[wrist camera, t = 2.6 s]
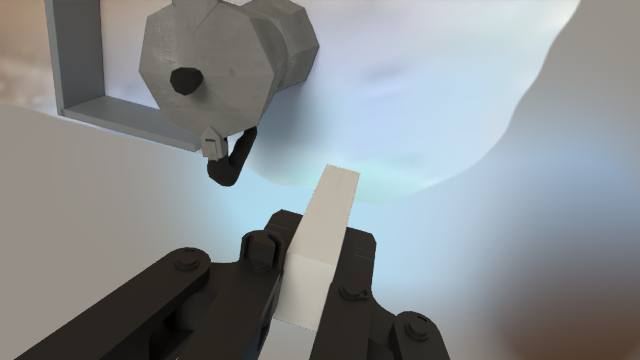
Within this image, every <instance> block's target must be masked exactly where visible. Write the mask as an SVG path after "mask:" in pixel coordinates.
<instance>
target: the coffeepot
mask: <svg viewBox="0 0 640 360" xmlns="http://www.w3.org/2000/svg"><path fill="white" fill-rule="evenodd" d="M318 47H319V44H318V41H317V38H316V36H315V33H314V30H313V27H312V25H311V23H310V21H309V18H308V16H307V13H306V11H305V8H304V7H302V6H299V5H297V4H295V3H293V2H291V1H289V0H252V1H250V2H248V3H246V4H244V5H242V6H238V5H235V4H232V3H229V2H225V1H223V0H172V4H170V5H168V6H167V7H165V8H163V9H161V10H159V11H158V12H156V13H154V14H152V15H150V16H148V17H147V21H146V28H145V34H144V40H143V47H142V53H141V59H140V66H139V73H140V75H141V76H142V78H143V80H144V82H145V83H146V85H147V87H148V89H149V90H150V92H151V94H152V96H153V97H154V99H155V101H156V103H157V105H158V106H159V108H160V110H161V112H162V113H163V115H164V117H165V119H166V120H167V121H169V122H171V123H173V124H175V125H178V126H180V127H182V128H184V129H186V130H189V131H191V132H193V133H195V134H197V135H200V136H201V137H200V138H201V144H202V151H203V157H208V164H207V171H208V174H209V177H210V178H212V179H213V180H214V181H216V182H217V183H218V184H220V185H222V186H232V185H234V184H235V182H236V181H237V179H238V177H239V175H240V172H241V170H242V167H243V165H244V162H245V160H246V158H247V156H248V154H249V152H250V150H251V147H252V145H253V142H254V140H255V138H256V136H257V127H256V126H257V125H258V124H259V121H260V120H261V118H262V116H263V114H264V112H265V111H266V109H267V107H268V105H269V103H270V102H271V100H272V98H273V96H274V94H275V93H276V92H277V91H280V90H282V89H285V88H287V87H290V86H292V85H295V84H297V83H299V82H302V81H304V80H306V79H307V76H308V74H309V71H310V69H311V66H312V64H313V61H314V58H315V55H316V52H317V50H318ZM243 130H244V134H243V135H242V136H241V137H240V138H239V139H238V140H237V142H236V144H235V146H234V149H233V152H232V153H231V154H230V156H229V157H228V141H227V137H228V136H230V135H233V134H236V133H238V132H241V131H243Z"/></svg>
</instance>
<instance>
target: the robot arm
mask: <svg viewBox="0 0 640 360" xmlns="http://www.w3.org/2000/svg"><path fill="white" fill-rule="evenodd" d="M359 176H360V173H358V172H354V171H350V170H347V169H343V168H339V167H336V166H332V165H328V164H327V165H326V167H325V170H324V172H323V174H322V176H321V178H320V180H319V183H318V185H317V187H316V189H315V191H314V194H313V196H312V198H311V200H310V202H309V205H308V207H307V209H306V211H305V213H304V215H301V214H297V213H293V212H290V211H286V210H282V209H281V210H280V211H278V212H276V213H274V214H273V215H272V217H271V218H270V220H269V222H268V224H267V225H266V226H265V228H264V230H256V231H252V232H249V233H246V234H245V235H244V236H243V237H242V243H241V250H240V258H239V260H238V261H237V262H232V263H214V262H213V263H212V262H211V259H210V258H209V255H208V254H207V253H205V252H204V251H202V250H200V249H197V248H189V247H185V248H180V249H176V250H174V251H172V252H170V253H168V254H167V255H166V256H164V257H163V258H161V259H160V260H158V261H157V262H156V263H154V264H152V265H151V266H149V267H148V268H147V269H145V270H144V271H142V272H141V273H139V274H138V275H136V276H135V277H133V278H132V279H131V280H129V281H128V282H126V283H125V284H123V285H122V286H120V287H119V288H117V289H116V290H114V291H113V292H112V293H110V294H109V295H107V296H106V297H104V298H103V299H101V300H100V301H99V302H97V303H96V304H94V305H93V306H91V307H90V308H88V309H87V310H85V311H84V312H82V313H81V314H80V315H78V316H77V317H75V318H74V319H72V320H71V321H69V322H68V323H67V324H65V325H64V326H62V327H61V328H59V329H58V330H56V331H55V332H53V333H52V334H50V335H49V336H48V337H46V338H45V339H43V340H42V341H40V342H39V343H37V344H36V345H35V346H33V347H32V348H30V349H29V350H27V351H26V352H24V353H23V354H21V355H20V356H18V357H17V358H16V359H14V360H176V359H177V358H178V359H177V360H258V357H259V355H260V352H261V349H262V347H263V345H264V342H265V340H266V337H267V335H268V332H269V328H270V322H271V319H272V316H273V314H274V317H273V318H274V319H277V320H280V321H284V322H287V323H290V324H293V325H297V326H300V327H303V328H306V329H309V330H313V331H316V332H317V334H316V337H315V341H314V344H313V348H312V352H311V355H310V359H309V360H450V358H449V355H448V352H447V350H446V347H445V344H444V342H443V339H442V336H441V334H440V332H439V330H438V328H437V326H436V325H435V324H434V323H433V322H432V321H431V320H430V319H429V318H427V317H425V316H424V315H422V314H420V313H416V312H413V311H405V312H402V313H400V314H398V315H397V316H395V315H394V314H392V313H390V312H389V311H387V310H385V309H384V308H382V307H381V306H380V305H379V304H378V303H377V302H376V300H375V299H374V297H373V295H372V291H371V285H372V277H373V268H374V260H375V251H376V241H375V239H374V237H373V235H372V234H371V233H367V232H364V231H361V230H357V229H354V228H349V227H347V223H348V219H349V215H350V211H351V207H352V203H353V199H354V195H355V191H356V188H357V184H358V180H359Z"/></svg>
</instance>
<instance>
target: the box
mask: <svg viewBox="0 0 640 360" xmlns="http://www.w3.org/2000/svg"><path fill="white" fill-rule="evenodd" d="M44 1H45V10H46V18H47V27H48V36H49V44H50V53H51V61H52V70H53V78H54V87H55V96H56V104H57V113H58V115H60V116H64V117H68V118H71V119H75V120H79V121H82V122H86V123H89V124H93V125H97V126H100V127H104V128H108V129H111V130H115V131H119V132H122V133H126V134H130V135H133V136H137V137H141V138H144V139H148V140H152V141H155V142H159V143H163V144H166V145H170V146H174V147H177V148H181V149H185V150H188V151H192V152H196V151H197V150H198V149H200V148H201V147H202V144H201V138H200V137H201V136H200V135H197V134H195V133H193V132H191V131H189V130H186V129H184V128H182V127H180V126H178V125H175V124H173V123H171V122H169V121H167V120H166V119H165V117H164V115H163V113H162V112H161V110H159V109H155V108H151V107H147V106H144V105H140V104H136V103H132V102H129V101H125V100H121V99H117V98H113V97H110V96H106V95H105V93H104V75H103V58H102V40H101V23H100V5H99V0H44Z"/></svg>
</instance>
